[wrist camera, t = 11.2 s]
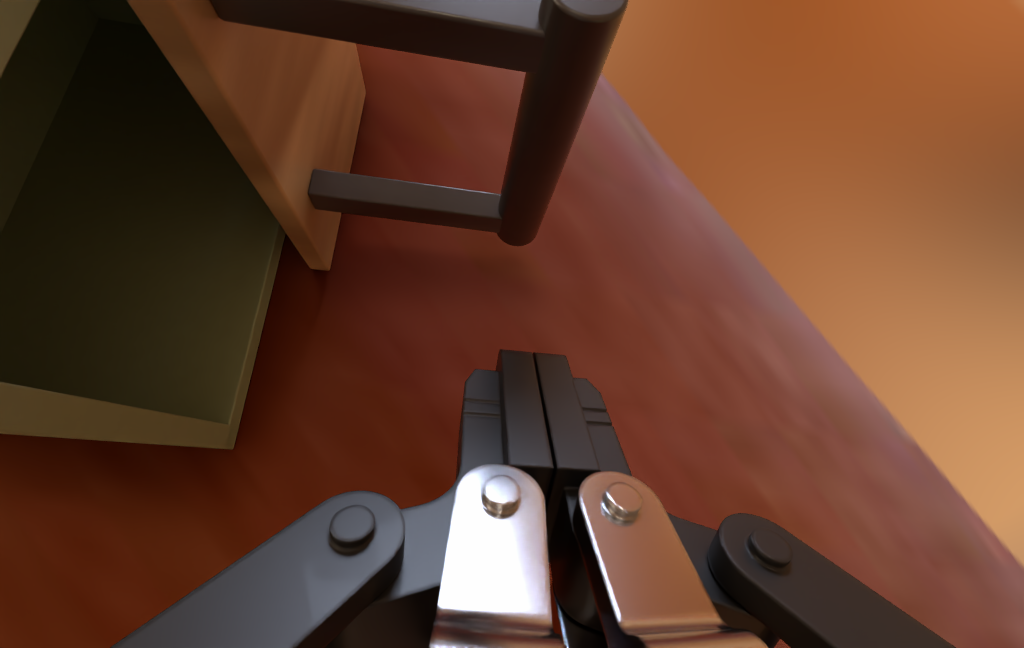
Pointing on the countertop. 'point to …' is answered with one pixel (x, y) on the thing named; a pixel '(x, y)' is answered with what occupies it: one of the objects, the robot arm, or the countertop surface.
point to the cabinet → (120, 239)
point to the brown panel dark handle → (341, 93)
